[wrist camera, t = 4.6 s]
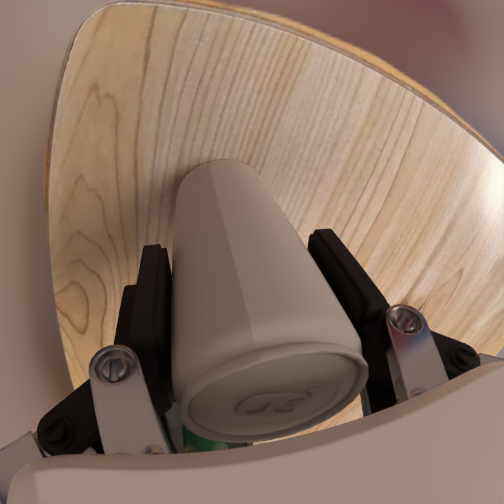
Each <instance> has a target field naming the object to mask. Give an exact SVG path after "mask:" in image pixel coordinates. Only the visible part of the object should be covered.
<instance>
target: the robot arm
mask: <svg viewBox="0 0 504 504" xmlns="http://www.w3.org/2000/svg"><path fill="white" fill-rule="evenodd" d="M308 252H309V253H310V255H311V256H312V258H313V260H314V261H315V263H316V264H317V266H318V268H319V269H320V271H321V273H322V274H323V276H324V278H325V279H326V281H327V283H328V284H329V286H330V288H331V289H332V291H333V293H334V294H335V296H336V298H337V299H338V301H339V303H340V304H341V306H342V308H343V310H344V311H345V313H346V315H347V316H348V318H349V320H350V322H351V323H352V325H353V327H354V329H355V330H356V332H357V334H358V336H359V338H360V340H361V347H362V357H363V358H364V360H365V361H366V362H367V364H368V375H369V377H368V379H367V382H366V384H365V386H364V388H363V390H362V391H361V392H360V396H361V403H362V410H363V417H362V418H359V419H357V420H354V421H350V422H347V423H344V424H341V425H338V426H334V427H331V428H328V429H324V430H320V431H317V432H313V433H309V434H305V435H301V436H297V437H293V438H288V439H284V440H279V441H274V442H269V443H263V444H258V445H252V446H246V447H239V448H232V449H225V450H216V451H207V452H196V453H181V450H180V448H179V446H178V443H177V441H176V439H175V436H174V434H173V431H172V429H171V426H170V424H169V421H168V418H167V416H166V412H167V411H168V410H169V409H170V408H171V407H172V403H177V401H176V400H175V398H174V395H173V387H172V368H171V283H172V275H171V269H170V264H169V258H168V252H167V248H161V246H160V244H156V245H146V246H144V247H143V252H142V257H141V263H140V268H139V273H138V279H137V285H126V286H125V287H124V291H123V296H122V301H121V306H120V311H119V316H118V322H117V328H116V334H115V340H114V345H109V346H107V347H104V348H102V349H101V350H99V351H98V352H97V353H96V354H95V355H94V356H93V357H92V359H91V361H90V364H89V377H90V379H88V380H87V381H86V382H85V383H83V384H82V385H81V386H80V387H78V388H77V389H76V390H75V391H74V392H72V393H71V394H70V395H69V396H67V397H66V398H65V399H64V400H62V401H61V402H60V403H59V404H58V405H56V406H55V407H54V408H53V409H52V410H50V411H49V412H48V413H47V414H45V415H44V417H43V418H42V419H41V420H40V422H39V424H38V427H37V431H36V432H35V433H32V432H31V431H29V432H28V433H26V434H25V435H23V436H21V437H20V438H18V439H17V440H15V441H13V442H12V443H10V444H9V445H7V446H5V447H4V448H2V449H0V503H1V504H504V359H502V358H498V357H494V356H490V355H486V354H482V353H479V354H477V353H476V351H475V350H474V349H473V348H472V347H471V346H469V345H467V344H465V343H462V342H460V341H457V340H455V339H452V338H449V337H447V336H444V335H441V334H439V333H436V332H433V331H431V330H430V329H429V327H428V324H427V322H426V320H425V318H424V316H423V315H422V314H421V313H420V312H419V311H418V310H417V309H415V308H413V307H411V306H408V305H404V304H397V305H393V306H391V307H390V305H389V304H388V303H387V301H386V299H385V297H384V296H383V295H382V293H381V292H380V291H379V289H378V288H377V287H376V285H375V284H374V283H373V281H372V280H371V279H370V277H369V276H368V275H367V273H366V272H365V271H364V269H363V268H362V267H361V266H360V264H359V263H358V262H357V260H356V259H355V258H354V257H353V255H352V254H351V253H350V252H349V250H348V249H347V248H346V247H345V245H344V244H343V243H342V242H341V240H340V239H339V238H338V237H337V235H336V234H335V233H334V232H333V230H332V229H317V230H315V231H314V234H310V236H309V242H308Z"/></svg>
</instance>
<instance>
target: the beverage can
mask: <svg viewBox="0 0 504 504" xmlns="http://www.w3.org/2000/svg"><path fill="white" fill-rule="evenodd" d="M171 368H172V387H173V395H174V398H175V400H176V401H177V403H178V404H179V407H180V420H181V421H182V423H183V424H184V425H185V427H186V428H187V429H188V430H189V431H191V432H193V433H195V434H196V435H198V436H200V437H204V438H207V439H210V440H214V441H222V442H230V443H248V442H258V441H266V440H272V439H276V438H281V437H285V436H289V435H292V434H295V433H298V432H301V431H303V430H306V429H309V428H311V427H313V426H315V425H317V424H319V423H321V422H324V421H326V420H327V419H329V418H330V417H332V416H334V415H335V414H337V413H338V412H340V411H341V410H343V409H344V408H345V407H346V406H347V405H349V404H350V403H351V402H352V401H353V400H354V399H355V398H356V397H357V396H358V395H359V393H360V392H361V391H362V390H363V388H364V386H365V384H366V382H367V379H368V377H369V375H368V364H367V362H366V361H365V360H364V358H363V357H362V347H361V340H360V338H359V336H358V334H357V332H356V330H355V329H354V327H353V325H352V323H351V322H350V320H349V318H348V316H347V315H346V313H345V311H344V310H343V308H342V306H341V304H340V303H339V301H338V299H337V298H336V296H335V294H334V293H333V291H332V289H331V288H330V286H329V284H328V283H327V281H326V279H325V278H324V276H323V274H322V273H321V271H320V269H319V268H318V266H317V264H316V263H315V261H314V260H313V258H312V256H311V255H310V253H309V252H308V250H307V248H306V247H305V245H304V244H303V242H302V240H301V239H300V237H299V236H298V234H297V232H296V231H295V229H294V228H293V226H292V225H291V223H290V222H289V220H288V218H287V217H286V215H285V214H284V212H283V211H282V209H281V208H280V206H279V205H278V203H277V202H276V200H275V198H274V197H273V195H272V194H271V192H270V191H269V189H268V188H267V186H266V185H265V183H264V182H263V180H262V179H261V178H260V176H259V175H258V174H257V172H256V171H255V170H254V169H252V168H251V167H250V166H248V165H247V164H245V163H242V162H240V161H237V160H229V159H221V160H215V161H210V162H207V163H205V164H202V165H200V166H197V167H196V168H195V169H193V170H192V171H191V172H189V173H188V174H187V175H186V177H185V178H184V179H183V181H182V182H181V184H180V186H179V189H178V192H177V196H176V208H175V222H174V238H173V256H172V283H171Z"/></svg>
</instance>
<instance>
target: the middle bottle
mask: <svg viewBox="0 0 504 504" xmlns="http://www.w3.org/2000/svg"><path fill="white" fill-rule="evenodd" d="M182 439H183V448H184V453H196V452H207V451H216V450H225V449H229V447H228V442H222V441H214V440H210V439H207V438H204V437H200V436H198V435H196V434H195V433H193V432H191V431H189V430H188V429H187V428H186V427H185V425H184V426H183V427H182Z"/></svg>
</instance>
